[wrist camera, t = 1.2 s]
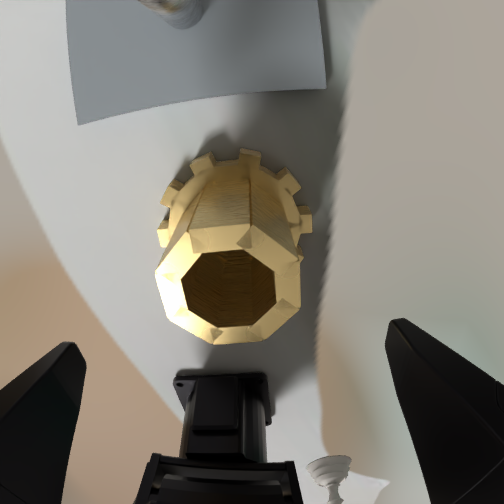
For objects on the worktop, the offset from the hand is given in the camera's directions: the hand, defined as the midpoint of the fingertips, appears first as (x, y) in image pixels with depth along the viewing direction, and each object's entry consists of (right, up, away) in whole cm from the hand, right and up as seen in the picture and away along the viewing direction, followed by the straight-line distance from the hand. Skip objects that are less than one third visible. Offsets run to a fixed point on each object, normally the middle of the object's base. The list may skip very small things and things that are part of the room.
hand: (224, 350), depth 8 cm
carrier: (-2, +15, +1) cm, 16 cm away
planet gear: (0, +4, +8) cm, 9 cm away
